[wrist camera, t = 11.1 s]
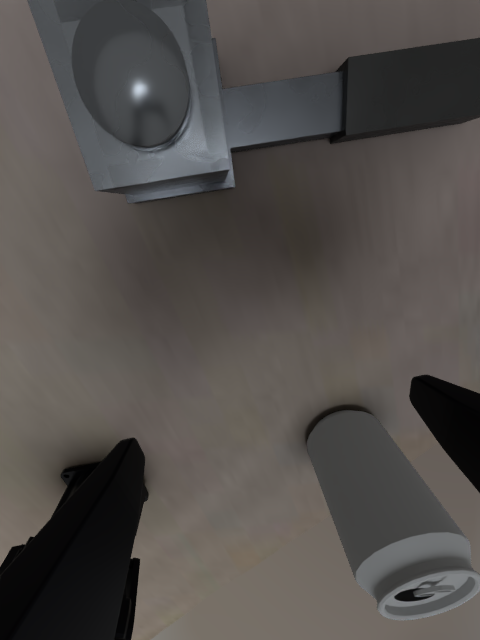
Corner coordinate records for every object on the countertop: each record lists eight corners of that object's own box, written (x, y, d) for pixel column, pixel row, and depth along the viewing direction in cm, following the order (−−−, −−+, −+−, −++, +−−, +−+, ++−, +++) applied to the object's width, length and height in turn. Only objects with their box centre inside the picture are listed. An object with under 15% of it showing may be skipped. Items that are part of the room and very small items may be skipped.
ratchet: (135, 203, 15) (106, 202, 11) (97, 73, 13) (40, 9, 8) (455, 153, 15) (540, 134, 11) (481, 16, 13) (604, -70, 9)
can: (292, 452, 26) (347, 630, 15) (322, 397, 23) (418, 569, 12) (354, 460, 27) (444, 628, 17) (389, 410, 25) (527, 573, 14)
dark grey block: (135, 195, 14) (81, 189, 8) (99, 75, 11) (-5, -41, 6) (225, 180, 14) (231, 165, 8) (206, 58, 12) (199, -70, 6)
